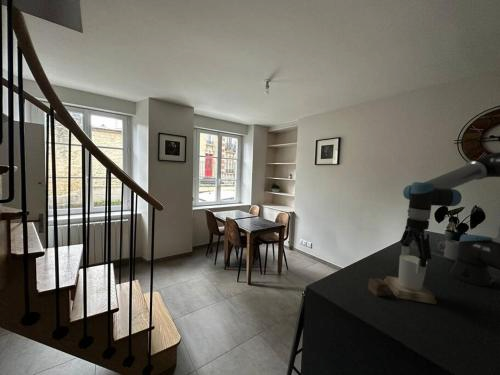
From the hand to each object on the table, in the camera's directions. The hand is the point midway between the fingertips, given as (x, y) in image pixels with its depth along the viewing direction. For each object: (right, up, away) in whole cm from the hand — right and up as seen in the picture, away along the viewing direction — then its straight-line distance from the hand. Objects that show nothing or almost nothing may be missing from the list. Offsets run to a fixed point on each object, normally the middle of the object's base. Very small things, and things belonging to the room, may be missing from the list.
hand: (411, 266), depth 95 cm
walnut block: (-16, -11, -1) cm, 19 cm away
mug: (+60, -12, +48) cm, 78 cm away
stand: (-1, -11, +1) cm, 12 cm away
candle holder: (-1, -9, +1) cm, 9 cm away
